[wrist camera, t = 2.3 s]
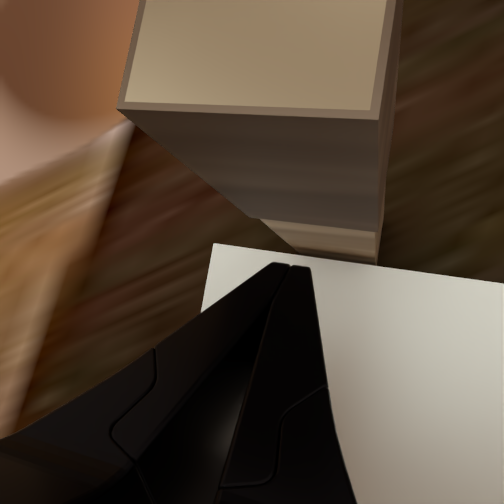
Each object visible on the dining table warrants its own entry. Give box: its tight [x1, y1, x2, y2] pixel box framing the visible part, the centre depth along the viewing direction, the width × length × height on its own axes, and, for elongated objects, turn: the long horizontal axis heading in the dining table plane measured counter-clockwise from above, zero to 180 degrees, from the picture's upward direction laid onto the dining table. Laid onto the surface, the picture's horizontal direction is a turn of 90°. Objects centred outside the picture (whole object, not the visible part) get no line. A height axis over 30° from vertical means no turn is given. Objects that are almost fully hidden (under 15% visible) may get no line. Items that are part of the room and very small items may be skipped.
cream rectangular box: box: [201, 243, 504, 504], centre depth 16 cm, size 8×14×4 cm, turn 80°
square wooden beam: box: [116, 0, 403, 266], centre depth 11 cm, size 9×9×15 cm
